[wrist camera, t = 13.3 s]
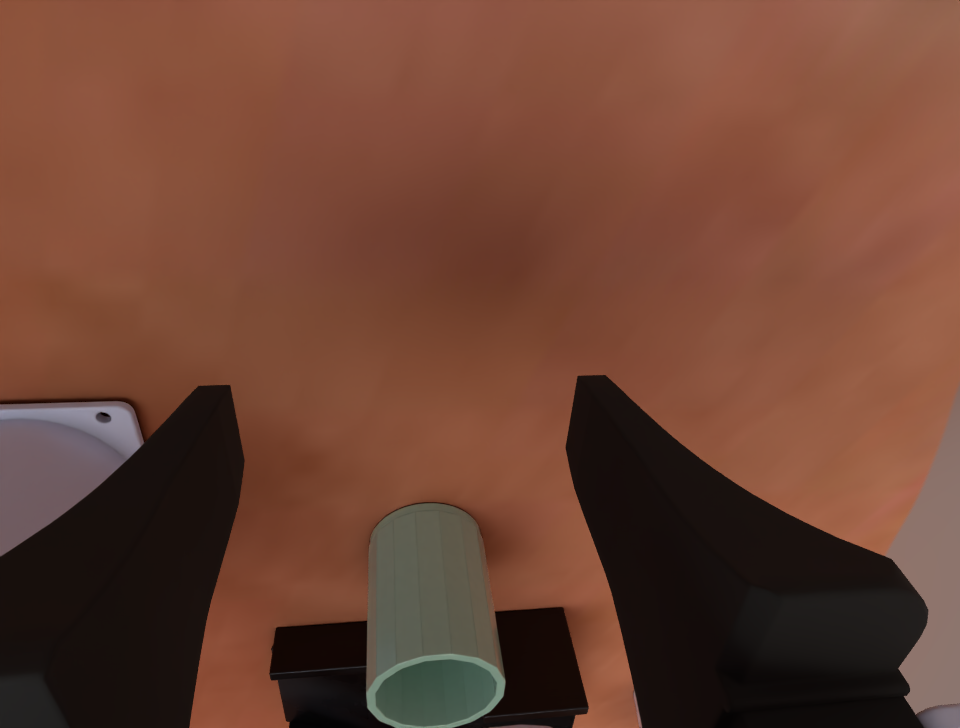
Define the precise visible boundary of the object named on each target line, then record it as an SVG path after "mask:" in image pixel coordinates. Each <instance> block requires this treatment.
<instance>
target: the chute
mask: <svg viewBox="0 0 960 728" xmlns="http://www.w3.org/2000/svg"><path fill="white" fill-rule="evenodd" d="M273 645H274V644H273ZM271 650H272V652H273V646H272V648H271ZM278 684H279V689H280V694H281V699H282V703H283V708H284V713H285V718H286V721H287V722H293V723H299V724H304V725H310V726H316V727H322V728H395V727H393V726H390V725H388V724H386V723H383V722H381V721H379V720H378V719H377V718H376V717H375V716H374V715H373V714H372V713H371V712H370V711H369V710H368V708H367V699H366V673H357V674H345V675H333V676H321V677H308V678H296V679H284V680H278ZM574 719H575V715H570V716H560V717H549V718H538V719H528V720H517V721H506V722H496V723H484V722H483V716H481V717H480V718H478V719H476V720H475V721H472V722H470V723H467V724H464V725H460V726H457V727H454V728H491V727H501V726H512V725H538V726H550V727H552V728H572V727H573V723H574Z"/></svg>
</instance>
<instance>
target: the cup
mask: <svg viewBox="0 0 960 728" xmlns="http://www.w3.org/2000/svg"><path fill="white" fill-rule="evenodd" d="M505 683H506V680H505V674H504V668H503V661H502V655H501V649H500V643H499V636H498V630H497V624H496V617H495V611H494V605H493V599H492V592H491V586H490V580H489V573H488V567H487V561H486V555H485V548H484V542H483V539H482V535H481V531H480V528H479V526H478V524H477V523H476V521H475V520H474V519H473V518H472V517H471V516H470V515H469V514H468V513H466V512H464V511H463V510H461V509H459V508H456V507H453V506H450V505H446V504H439V503H422V504H415V505H410V506H407V507H404V508H401V509H399V510H396V511H394V512H393V513H391V514H389V515H388V516H386V517H385V518H384V519H383V520H381V521H380V522H379V523H378V525H377V526H376V527H375V529H374V530H373V532H372V534H371V537H370V541H369V559H368V615H367V671H366V699H367V708H368V710H369V711H370V712H371V713H372V714H373V715H374V716H375V717H376V718H377V719H378V720H379V721H381V722H383V723H386V724H388V725H390V726H393V727H395V728H454V727H457V726H460V725H464V724H467V723H470V722H472V721H475V720H476V719H478V718H480V717H481V716H483V715H485V714H487V713H488V712H490V711H491V710H493V708H494V707H495V706H496V705H497V704H498V702H499V701H500V700H501V699H502V698H503V696H504V690H505Z"/></svg>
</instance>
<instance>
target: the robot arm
mask: <svg viewBox="0 0 960 728" xmlns="http://www.w3.org/2000/svg"><path fill="white" fill-rule="evenodd" d="M101 412H103V413H107V414H109V415H110V417H107V416H104V415H102V414H101ZM566 452H567V457H568V462H569V467H570V472H571V476H572V480H573V484H574V489H575V491H576V494H577V497H578V500H579V503H580V506H581V508H582V511H583V514H584V517H585V519H586V522H587V525H588V528H589V530H590V533H591V536H592V538H593V541H594V544H595V547H596V549H597V552H598V555H599V557H600V560H601V563H602V566H603V568H604V571H605V574H606V577H607V580H608V583H609V586H610V589H611V592H612V596H613V600H614V604H615V608H616V612H617V616H618V620H619V624H620V628H621V632H622V636H623V641H624V645H625V649H626V654H627V658H628V663H629V667H630V671H631V676H632V680H633V685H634V690H635V695H636V700H637V705H638V710H639V714H640V719H641V724H642V728H960V704H950V705H940V706H935V707H930V708H927V709H925V710H923V711H921V712H919V713H917V714H916V715H915V713H914V712H913V710H912V709H911V707H910V705H909V704H908V702H907V701H906V699H905V698H904V696H907V694H908V693H909V692H910V687H909V684H908V683H907V681H906V680H905V678H904V677H903V675H902V674H901V672H900V671H899V669H898V668H899V666H900V665H901V663H902V662H903V661H904V659H905V658H906V656H907V655H908V654H909V652H910V651H911V649H912V648H913V647H914V645H915V644H916V642H917V641H918V640H919V638H920V636H921V635H922V633H923V631H924V629H925V627H926V624H927V619H928V609H927V606H926V604H925V602H924V600H923V599H922V598H921V596H920V595H919V594H918V592H917V591H916V590H915V588H914V587H913V586H912V585H911V583H910V582H909V581H908V579H907V578H906V577H905V576H904V574H903V573H902V572H901V570H900V569H899V568H898V566H897V565H896V564H895V563H894V562H893V560H892V559H890V558H888V557H885V556H883V555H880V554H878V553H875V552H872V551H870V550H867V549H865V548H862V547H860V546H857V545H855V544H852V543H850V542H847V541H845V540H842V539H840V538H837V537H835V536H833V535H831V534H828V533H826V532H824V531H822V530H820V529H818V528H816V527H814V526H811V525H809V524H807V523H805V522H803V521H801V520H799V519H797V518H795V517H793V516H791V515H789V514H787V513H785V512H783V511H782V510H780V509H778V508H776V507H774V506H773V505H771V504H769V503H767V502H766V501H764V500H762V499H760V498H758V497H757V496H755V495H753V494H752V493H750V492H748V491H747V490H745V489H743V488H742V487H740V486H739V485H737V484H736V483H734V482H733V481H731V480H730V479H728V478H727V477H725V476H724V475H722V474H721V473H719V472H718V471H716V470H715V469H713V468H712V467H711V466H709V465H708V464H706V463H705V462H704V461H702V460H701V459H700V458H699V457H697V456H696V455H695V454H693V453H692V452H691V451H690V450H688V449H687V448H686V447H685V446H683V445H682V444H681V443H679V442H678V441H677V440H676V439H675V438H674V437H672V436H671V435H670V434H669V433H668V432H666V431H665V430H664V429H663V428H662V427H661V426H660V425H658V424H657V423H656V422H655V421H654V420H653V419H652V418H651V417H650V416H648V415H647V414H646V413H645V412H644V411H643V410H642V409H641V408H640V407H639V406H638V405H637V404H636V403H634V402H633V401H632V400H631V399H630V398H629V397H628V396H627V395H626V394H625V393H624V392H623V391H622V390H621V389H620V388H619V387H618V386H617V385H615V384H614V383H613V382H612V381H611V380H610V379H609V378H608V377H607V376H606V375H593V376H578V377H577V383H576V389H575V395H574V401H573V407H572V413H571V419H570V425H569V431H568V436H567V442H566ZM244 462H245V460H244V455H243V450H242V444H241V439H240V434H239V429H238V424H237V418H236V413H235V408H234V403H233V398H232V392H231V387H230V385H211V386H198V387H197V388H196V389H195V390H194V391H193V392H192V393H191V394H190V395H189V396H188V397H187V398H186V399H185V400H184V401H183V403H182V404H181V405H180V406H179V407H178V408H177V409H176V410H175V411H174V412H173V413H172V414H171V416H170V417H169V418H168V419H167V420H166V421H165V422H164V423H163V424H162V425H161V426H160V427H159V428H158V429H157V430H156V431H155V432H154V433H153V435H152V436H151V437H150V438H149V439H148V440H147V441H146V442H145V443H144V440H143V437H142V434H141V430H140V427H139V424H138V420H137V417H136V414H135V411H134V409H133V407H132V406H130V405H129V404H127V403H125V402H121V401H104V402H69V403H34V404H0V728H189V726H190V718H191V711H192V705H193V698H194V692H195V685H196V679H197V673H198V666H199V660H200V655H201V649H202V643H203V637H204V631H205V626H206V620H207V616H208V612H209V608H210V604H211V599H212V596H213V593H214V589H215V586H216V582H217V579H218V575H219V572H220V568H221V565H222V561H223V558H224V554H225V551H226V547H227V544H228V540H229V537H230V533H231V530H232V526H233V523H234V519H235V515H236V512H237V508H238V504H239V498H240V491H241V484H242V477H243V469H244ZM491 728H552V727H550V726H538V725H512V726H501V727H491Z"/></svg>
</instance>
